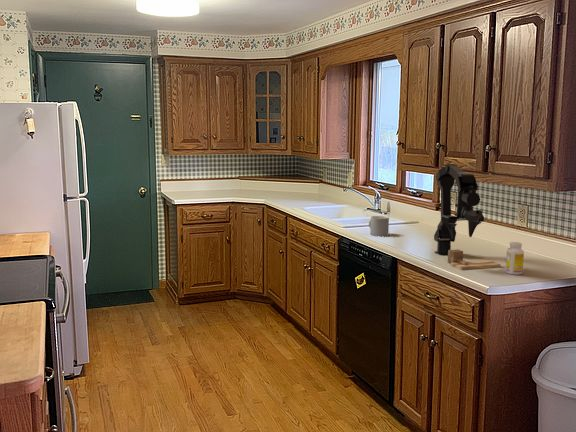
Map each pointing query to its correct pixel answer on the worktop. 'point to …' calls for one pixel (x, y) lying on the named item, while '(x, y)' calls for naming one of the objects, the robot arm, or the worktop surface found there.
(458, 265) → the plank
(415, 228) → the worktop surface
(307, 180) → the worktop surface
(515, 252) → the supplement bottle
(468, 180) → the robot arm
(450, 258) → the brown block with bar
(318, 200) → the worktop surface
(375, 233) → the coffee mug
